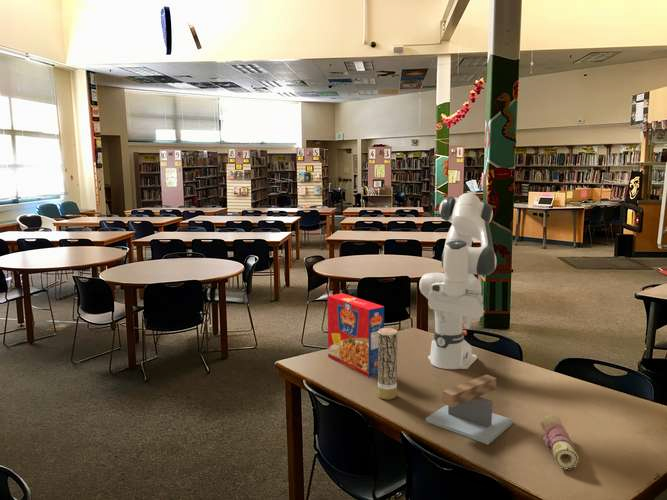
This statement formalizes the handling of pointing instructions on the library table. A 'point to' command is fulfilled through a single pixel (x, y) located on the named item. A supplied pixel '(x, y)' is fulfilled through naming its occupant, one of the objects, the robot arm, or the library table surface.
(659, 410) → the library table surface
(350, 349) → the pasta box
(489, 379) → the light brown wooden bar
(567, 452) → the scroll
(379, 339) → the bark cylinder
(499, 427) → the ridge stand
